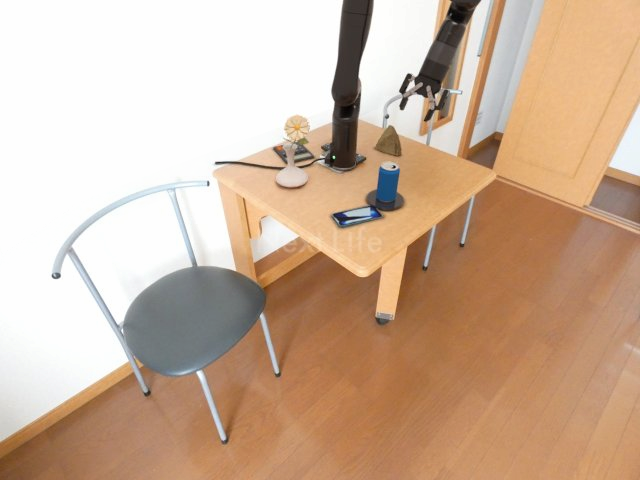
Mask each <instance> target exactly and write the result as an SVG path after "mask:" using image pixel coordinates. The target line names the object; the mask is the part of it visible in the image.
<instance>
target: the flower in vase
mask: <svg viewBox="0 0 640 480" xmlns="http://www.w3.org/2000/svg"><path fill="white" fill-rule="evenodd" d="M309 123H310V122H309V120H308V118H306V117H305V116H303V115H300V114H297V113H296V114H295V115H292V116H290V117H288V118H287V119H286V121H285V123H284V124H285V125H284V127H283V131H284V132H285V134H286V137H287V138H284V137H282V139H283V140H285V141H287V142H289V143H285V144H282V145H283V149H284V150H285V151H286V154H287V159H288V164H286V166H285V167H286V168H284V169H280V171H279V172H278V173H277V174H276V177H275V181H276V182H277V184H278V185H279V186H281V187H284V188H290V189H291V188H298V187H301V186H303V185H305V184H306V183H307V181H308V180H309V176H308V173H306V171H304V170H303V169H302V168H298V167H296V166H297V165H296V164H295V163H294V153H295V150H296V149H297V147H298V146H297V145H296V144H294V143H295V142H299V144H301V145H303V146H304V145H307V144H310V141H309V140H308V139H307V137H308V133H309V132H310V128H311V125H310V124H309ZM288 138H289V139H288ZM290 139H291V140H293V141H291V140H290Z"/></svg>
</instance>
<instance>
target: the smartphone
mask: <svg viewBox="0 0 640 480" xmlns="http://www.w3.org/2000/svg"><path fill="white" fill-rule="evenodd" d="M331 218H332V219H333V220H334V222H335V223H336V224H337V226H338V227H339V228H341V229H345V228H348V227H353V226H355V225H360V224H364V223H368V222H372V221H376V220H380V219H383V218H384V215H383V213H381V211H380V210H378V209H376V208H374V207H372V206H371V205H369V204H368V205H365V206H361V207H355V208H352V209H347V210H342V211H337V212H333V213H331Z"/></svg>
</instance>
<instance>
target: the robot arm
mask: <svg viewBox="0 0 640 480" xmlns="http://www.w3.org/2000/svg"><path fill="white" fill-rule="evenodd" d="M449 1H450V3H449V7H448V9H447V11H446V14H445V17H444V19H443V21H442V23H441V24H440V26H439V27H438V30H437V33H436V34H435V37H434V39H433V41H432V43H431V45H430V47H429V48H428V51H427V53H426V56H425V58H424V60H423V63H422V64H421V67H420V69H419V72H418V74H417V75H416V76H415V75H414V74H413V73H411V72H410V73H409V72H408V73H407V74H406V75H405V77H404V79H403V81H402V84H401V85H400V88H399V90H398V93H399V94H401V96H402V98H401V100H400V103H399V106H398V107H399V110H400V111H404V110H405V108H406V106H407V104H408V101H409V98H410V97H411V96H413V95H415V94H416V95H418V96H422V97H423V98H424V99H428V103H429V109H427V112H426V114H425V116H424V118H423V122H425V123H427V122H429V121H431V120H432V117H433V115H434V114H435V112H436V111H442V110H444V107H445V105H446V102H447V100H448V98H449V95H450V94H451V90H450V89H447V88H444V87H442V86H443V83H444V80H445V78H446V76H447V74H448V72H449V70H450V68H451V67H452V64H453V62H454V60H455V57H456V54H457V52H458V49H459V47H460V45H461V43H462V40H463V38H464V36H465V34H466V31H467V27H468V24H469V22H470V20H471V19H472V17H473V14H474V13H475V11H476V9H477V7H478V6H479V5H480V3H481V2H482V0H449ZM374 6H375V0H342V4H341V10H340V18H339V19H340V20H339V32H338V42H337V43H338V45H337V59H336V64H335V70H334V75H333V80H332V84H331V88H330V93H331V98H332V100H333V103H334V104H333V110H332V115H331V142H330V143H329V152H327V154H326V156H324V157H320V158H319V157H318V158H316V159H314V160H312V161H311V162H310V163H307V164H303V165H295V166H296V167H298V168H300V169H302V168H307V167H309V166H312V165H314V164H315V163H316V162H319V161H324V162H323V163H324V165H329V167H330V168H333V169H334V170H336V171H340V172H348V171H352V170H354V169H355V168H356V166H357V146H358V145H357V144H358V133H359V132H358V131H359V130H358V129H359V117H360V110H361V101H362V81H361V78H360V70H361V69H360V68H361V63H362V59H363V55H364V52H365V49H366V45H367V42H368V39H369V35H370V31H371V25H372V20H373V13H374ZM410 83H414V86H412V87H411V88H410V89H408V87H409V85H410ZM407 89H408V90H407ZM439 93H440V94H439ZM437 94H439V95H440V99H439V102H438V104H437V97H436V95H437ZM214 163H215V164H217V165H218V164H237V165H238V164H240V165H246V166H252V167H258V168H259V167H260V168H265V169H273V170H274V169H275V170H283V169H284V168H286V167H287V166H273V165H271V166H270V165H263V164H258V163H251V162H245V161H244V162H243V161H233V160H230V161H229V160H225V161H224V160H223V161H222V160H221V161H215V162H214Z"/></svg>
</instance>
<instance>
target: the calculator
mask: <svg viewBox="0 0 640 480" xmlns="http://www.w3.org/2000/svg"><path fill="white" fill-rule="evenodd" d="M294 144H296V145H297V146H298V147H297V149H296V150H295V153H294V164H295V163H299V162H303V161H307V160H312V159H314V158H315V156H314V154H313V153H311V151H310V150H308V149H307V147H306V146H304V145H301V144H299V142H298V141H295V143H294ZM283 145H284V144H281V145H277V146H273V150H274V152H275V153H276V154H277V155H278V156H279V157H280V158H281V159H282V160H283V161H284V163H285V164H286V165H288V159H287V154H286V151H285V150H284V149H283Z"/></svg>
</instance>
